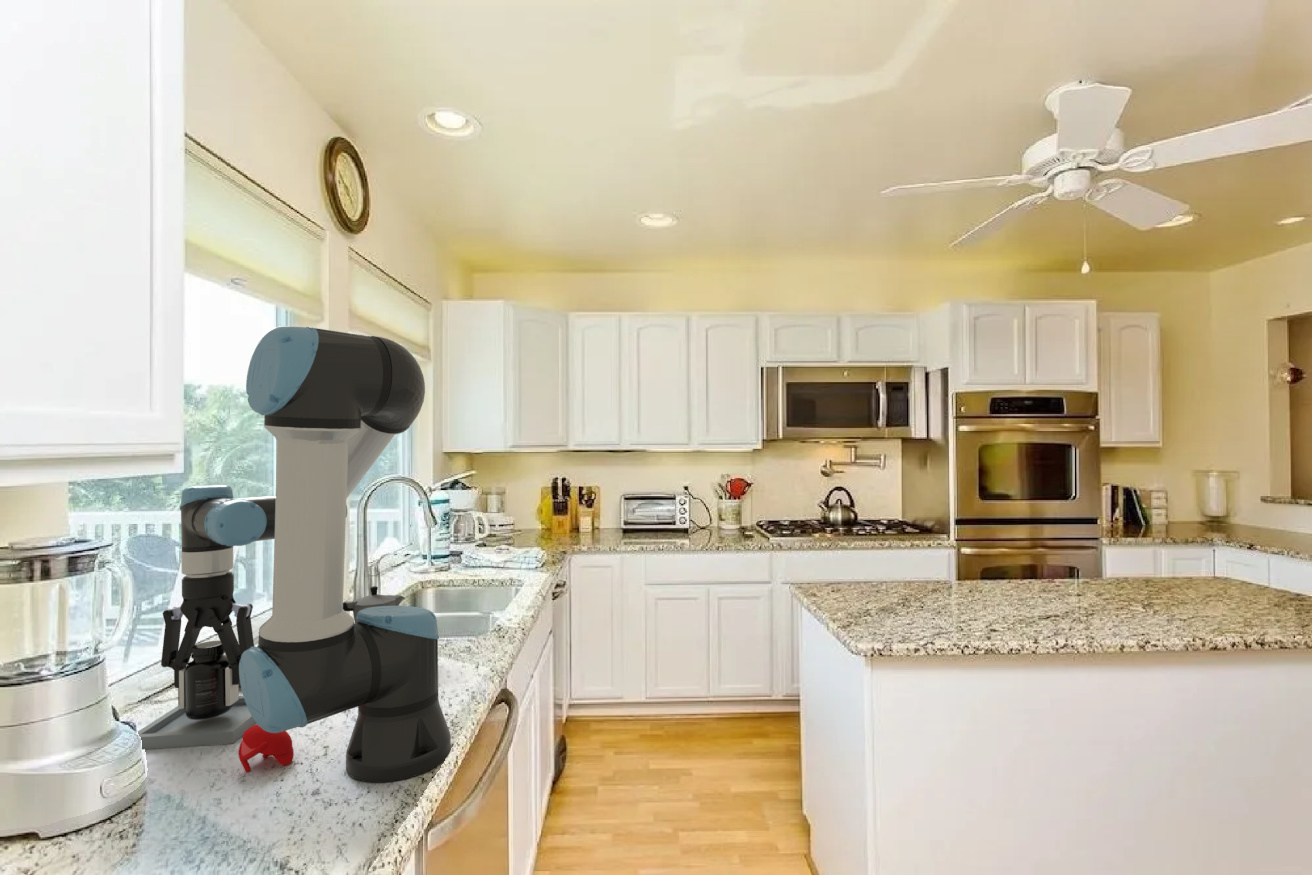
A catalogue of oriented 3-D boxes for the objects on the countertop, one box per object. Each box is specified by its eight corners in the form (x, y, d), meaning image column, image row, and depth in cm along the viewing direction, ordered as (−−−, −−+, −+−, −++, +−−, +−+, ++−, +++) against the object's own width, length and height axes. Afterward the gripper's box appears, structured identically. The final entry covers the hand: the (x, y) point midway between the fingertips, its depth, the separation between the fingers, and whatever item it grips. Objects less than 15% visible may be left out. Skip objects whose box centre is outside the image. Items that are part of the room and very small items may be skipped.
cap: (221, 755, 94) (252, 736, 94) (243, 725, 100) (272, 706, 99) (260, 788, 97) (291, 770, 96) (279, 757, 102) (308, 739, 102)
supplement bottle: (242, 705, 115) (241, 638, 115) (212, 721, 108) (211, 650, 108) (207, 704, 116) (206, 638, 116) (175, 720, 109) (174, 650, 109)
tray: (233, 743, 105) (232, 731, 105) (127, 750, 103) (127, 737, 103) (279, 704, 121) (279, 693, 121) (188, 709, 119) (188, 698, 119)
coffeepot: (396, 656, 148) (395, 578, 148) (413, 666, 141) (412, 584, 141) (324, 673, 137) (323, 589, 137) (339, 685, 130) (338, 597, 130)
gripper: (277, 566, 117) (279, 692, 117) (161, 571, 115) (162, 699, 115) (256, 575, 110) (258, 709, 109) (132, 579, 107) (133, 716, 107)
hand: (209, 703), depth 112 cm, fingers closed on supplement bottle, 7 cm apart
